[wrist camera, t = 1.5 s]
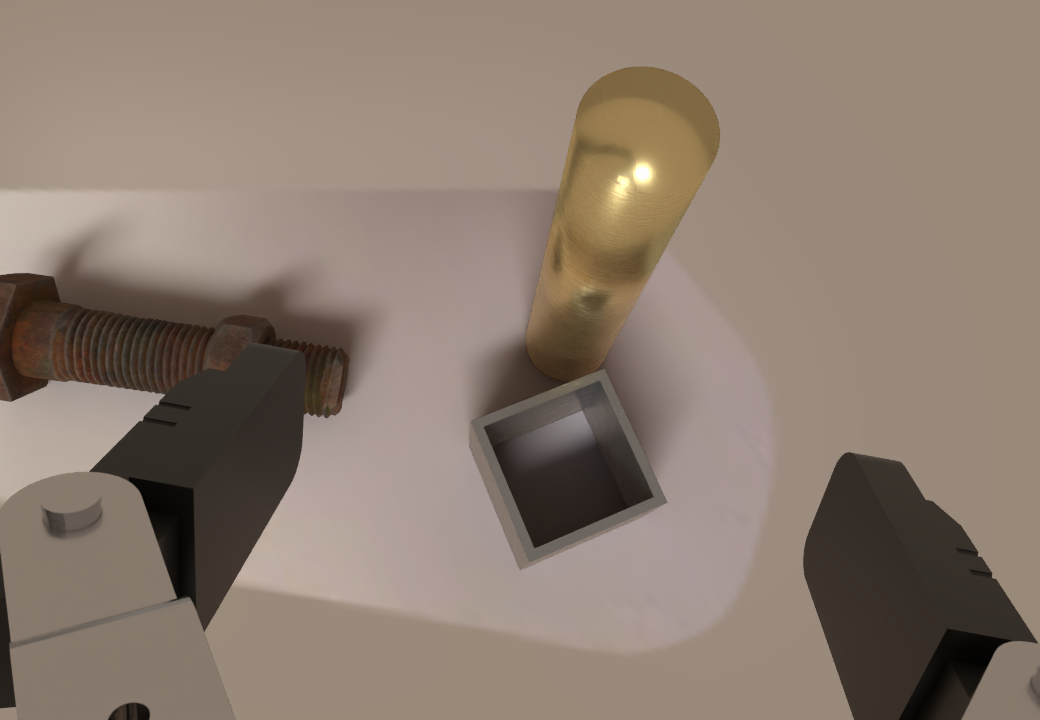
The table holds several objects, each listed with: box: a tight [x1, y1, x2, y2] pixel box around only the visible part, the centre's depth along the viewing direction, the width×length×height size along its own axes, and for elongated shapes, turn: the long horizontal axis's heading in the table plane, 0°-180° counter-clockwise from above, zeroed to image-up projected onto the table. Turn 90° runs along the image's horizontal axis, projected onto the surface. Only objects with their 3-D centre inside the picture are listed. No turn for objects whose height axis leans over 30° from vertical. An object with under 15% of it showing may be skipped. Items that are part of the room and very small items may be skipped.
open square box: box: [469, 368, 667, 570], centre depth 35 cm, size 6×6×5 cm
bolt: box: [0, 273, 349, 418], centre depth 36 cm, size 6×5×15 cm
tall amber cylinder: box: [526, 67, 720, 381], centre depth 31 cm, size 4×4×18 cm
